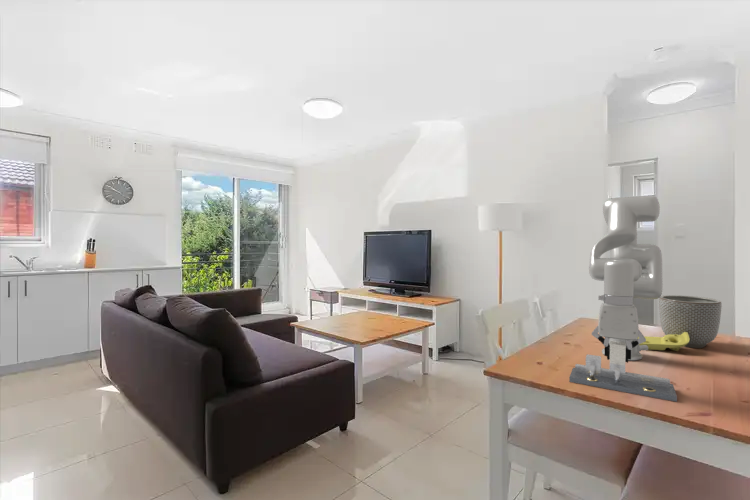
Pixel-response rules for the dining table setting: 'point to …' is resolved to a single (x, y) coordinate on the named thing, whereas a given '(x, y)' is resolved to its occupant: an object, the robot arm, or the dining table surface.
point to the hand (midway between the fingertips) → (617, 359)
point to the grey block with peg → (617, 358)
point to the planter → (690, 318)
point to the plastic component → (667, 342)
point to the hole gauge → (621, 380)
